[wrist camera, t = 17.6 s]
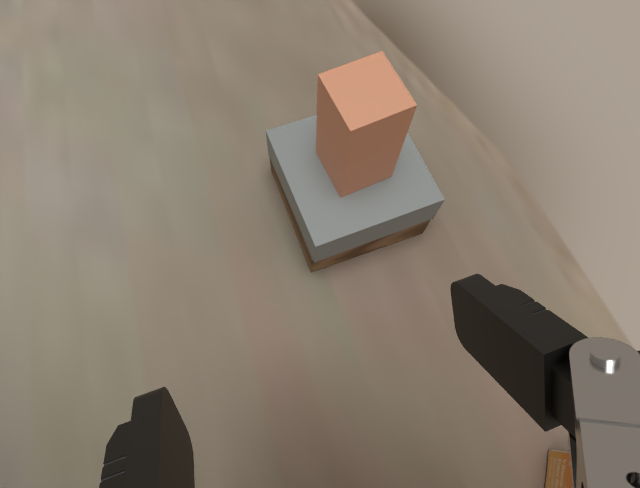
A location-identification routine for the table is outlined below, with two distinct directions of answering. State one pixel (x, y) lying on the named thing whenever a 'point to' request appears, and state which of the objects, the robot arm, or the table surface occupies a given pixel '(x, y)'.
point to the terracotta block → (361, 122)
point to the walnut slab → (352, 252)
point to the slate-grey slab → (356, 208)
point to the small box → (558, 470)
